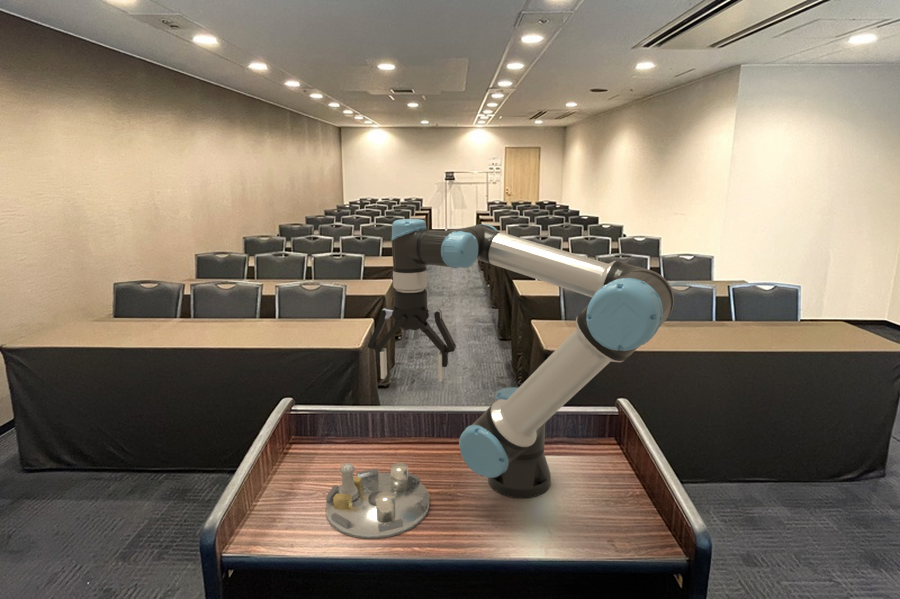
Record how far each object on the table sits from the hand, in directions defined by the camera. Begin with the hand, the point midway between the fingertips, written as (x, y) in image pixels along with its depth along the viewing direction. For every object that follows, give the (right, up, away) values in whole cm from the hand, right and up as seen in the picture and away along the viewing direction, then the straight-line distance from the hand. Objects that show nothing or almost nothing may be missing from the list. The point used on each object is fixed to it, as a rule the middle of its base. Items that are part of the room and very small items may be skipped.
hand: (412, 378), depth 129 cm
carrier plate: (-7, -28, -4) cm, 29 cm away
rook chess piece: (-14, -27, -3) cm, 31 cm away
